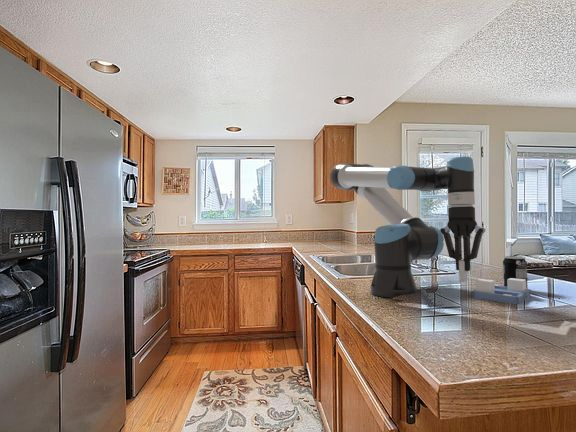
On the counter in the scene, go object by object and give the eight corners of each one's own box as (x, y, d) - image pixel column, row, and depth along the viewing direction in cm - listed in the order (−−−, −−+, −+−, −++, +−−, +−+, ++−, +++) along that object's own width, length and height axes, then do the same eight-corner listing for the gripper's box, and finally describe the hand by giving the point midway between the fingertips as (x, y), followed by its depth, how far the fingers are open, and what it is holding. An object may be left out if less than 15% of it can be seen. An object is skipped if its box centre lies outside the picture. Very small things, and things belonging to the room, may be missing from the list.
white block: (476, 297, 102) (475, 280, 102) (480, 295, 104) (479, 278, 104) (491, 299, 99) (490, 282, 99) (494, 297, 101) (494, 280, 101)
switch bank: (471, 301, 101) (471, 290, 101) (486, 294, 111) (486, 283, 111) (519, 309, 93) (518, 296, 93) (530, 299, 102) (530, 288, 102)
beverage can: (504, 290, 116) (503, 255, 116) (527, 292, 112) (526, 256, 112) (503, 294, 110) (502, 257, 110) (527, 296, 106) (526, 258, 107)
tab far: (507, 296, 102) (507, 279, 102) (510, 294, 105) (510, 278, 105) (523, 298, 100) (522, 281, 100) (526, 296, 102) (525, 279, 102)
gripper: (435, 207, 109) (437, 280, 108) (480, 205, 99) (482, 285, 99) (444, 207, 114) (446, 277, 113) (488, 205, 104) (490, 281, 104)
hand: (463, 281), depth 106 cm, fingers closed
